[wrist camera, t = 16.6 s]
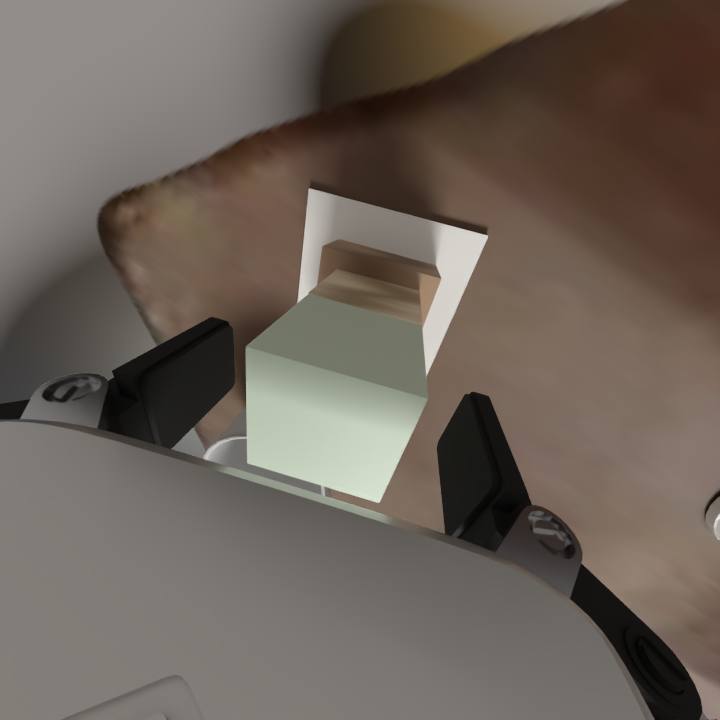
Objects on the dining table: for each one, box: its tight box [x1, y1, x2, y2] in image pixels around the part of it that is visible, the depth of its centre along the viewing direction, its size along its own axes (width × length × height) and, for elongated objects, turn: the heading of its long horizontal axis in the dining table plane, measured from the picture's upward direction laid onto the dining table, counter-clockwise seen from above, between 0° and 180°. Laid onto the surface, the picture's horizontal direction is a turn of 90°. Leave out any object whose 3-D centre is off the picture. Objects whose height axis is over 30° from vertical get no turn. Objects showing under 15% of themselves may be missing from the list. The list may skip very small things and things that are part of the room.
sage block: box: [246, 294, 428, 503], centre depth 10 cm, size 5×5×5 cm
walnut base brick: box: [317, 239, 441, 328], centre depth 18 cm, size 7×7×4 cm
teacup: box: [203, 409, 332, 498], centre depth 26 cm, size 14×11×8 cm
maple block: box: [308, 269, 422, 325], centre depth 15 cm, size 5×5×5 cm
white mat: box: [297, 188, 488, 376], centre depth 20 cm, size 12×12×1 cm
